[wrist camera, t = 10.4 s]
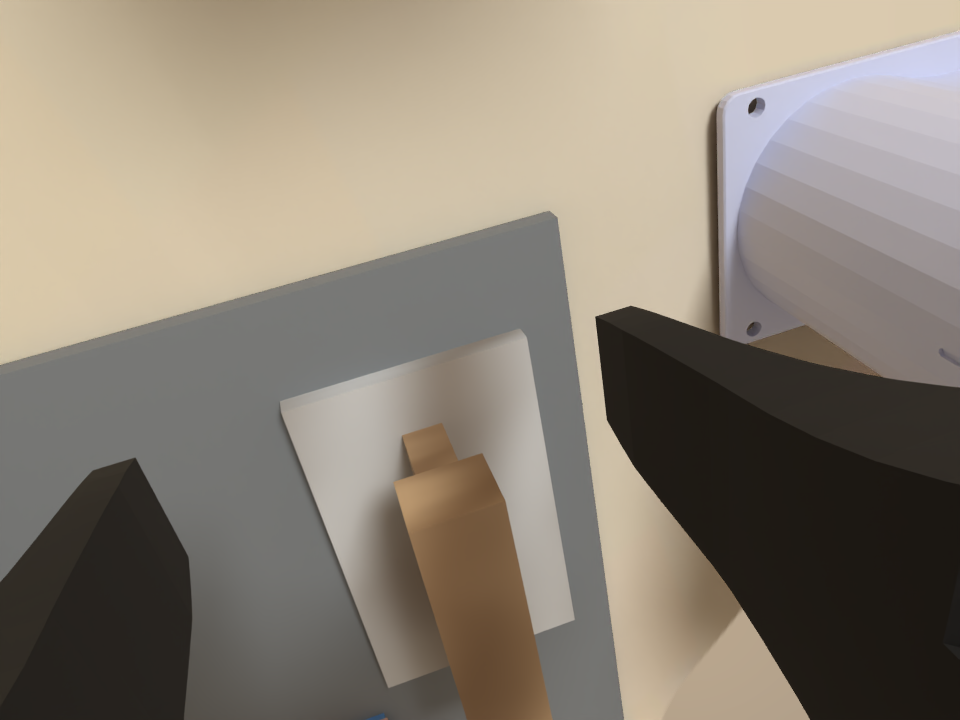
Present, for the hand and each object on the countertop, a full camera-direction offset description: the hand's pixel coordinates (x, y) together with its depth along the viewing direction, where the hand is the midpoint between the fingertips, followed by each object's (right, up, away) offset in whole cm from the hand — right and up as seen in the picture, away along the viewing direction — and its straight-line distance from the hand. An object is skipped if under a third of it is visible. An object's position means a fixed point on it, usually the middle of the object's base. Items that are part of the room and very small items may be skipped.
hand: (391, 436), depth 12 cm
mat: (-4, -9, +15) cm, 17 cm away
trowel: (0, -4, +13) cm, 13 cm away
